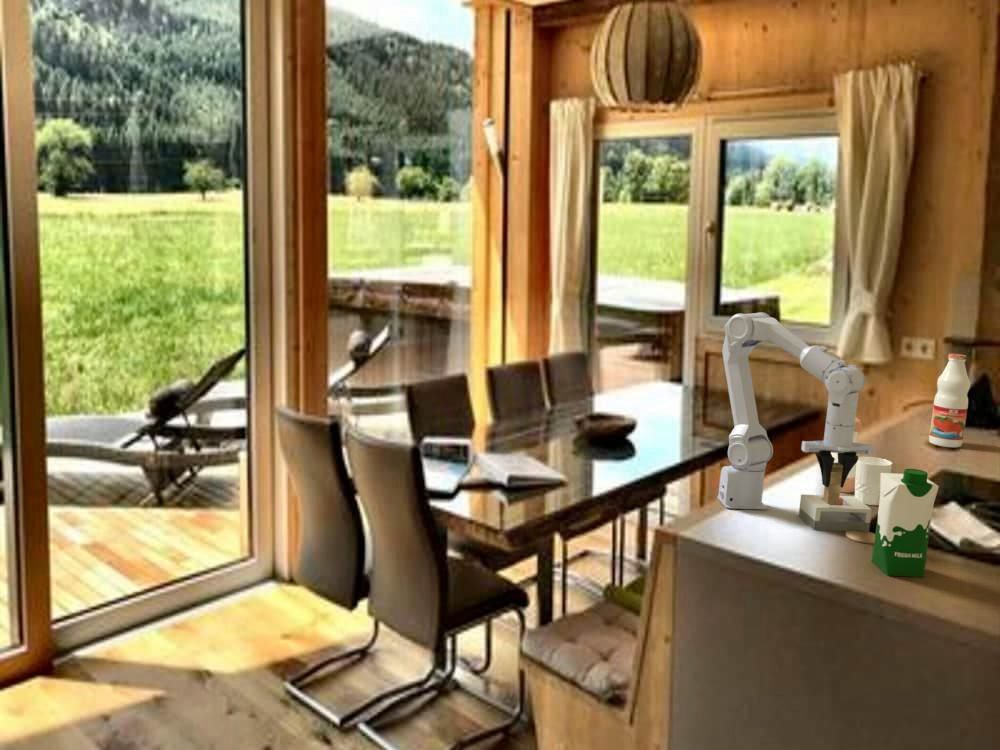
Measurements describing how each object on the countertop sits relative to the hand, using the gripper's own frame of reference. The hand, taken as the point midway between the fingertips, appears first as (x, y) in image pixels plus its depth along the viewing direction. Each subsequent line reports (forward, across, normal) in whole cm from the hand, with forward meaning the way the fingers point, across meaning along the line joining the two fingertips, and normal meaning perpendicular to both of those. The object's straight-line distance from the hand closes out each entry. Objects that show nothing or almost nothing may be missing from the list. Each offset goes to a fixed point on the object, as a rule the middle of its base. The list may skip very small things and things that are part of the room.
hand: (832, 485), depth 192 cm
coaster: (+10, +6, -4) cm, 12 cm away
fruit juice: (+10, +70, +85) cm, 110 cm away
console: (+10, +3, +4) cm, 11 cm away
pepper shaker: (+10, +16, +32) cm, 37 cm away
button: (+7, +3, +4) cm, 8 cm away
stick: (+4, 0, 0) cm, 4 cm away
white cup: (+10, +19, +22) cm, 31 cm away
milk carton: (+10, +5, -21) cm, 24 cm away
